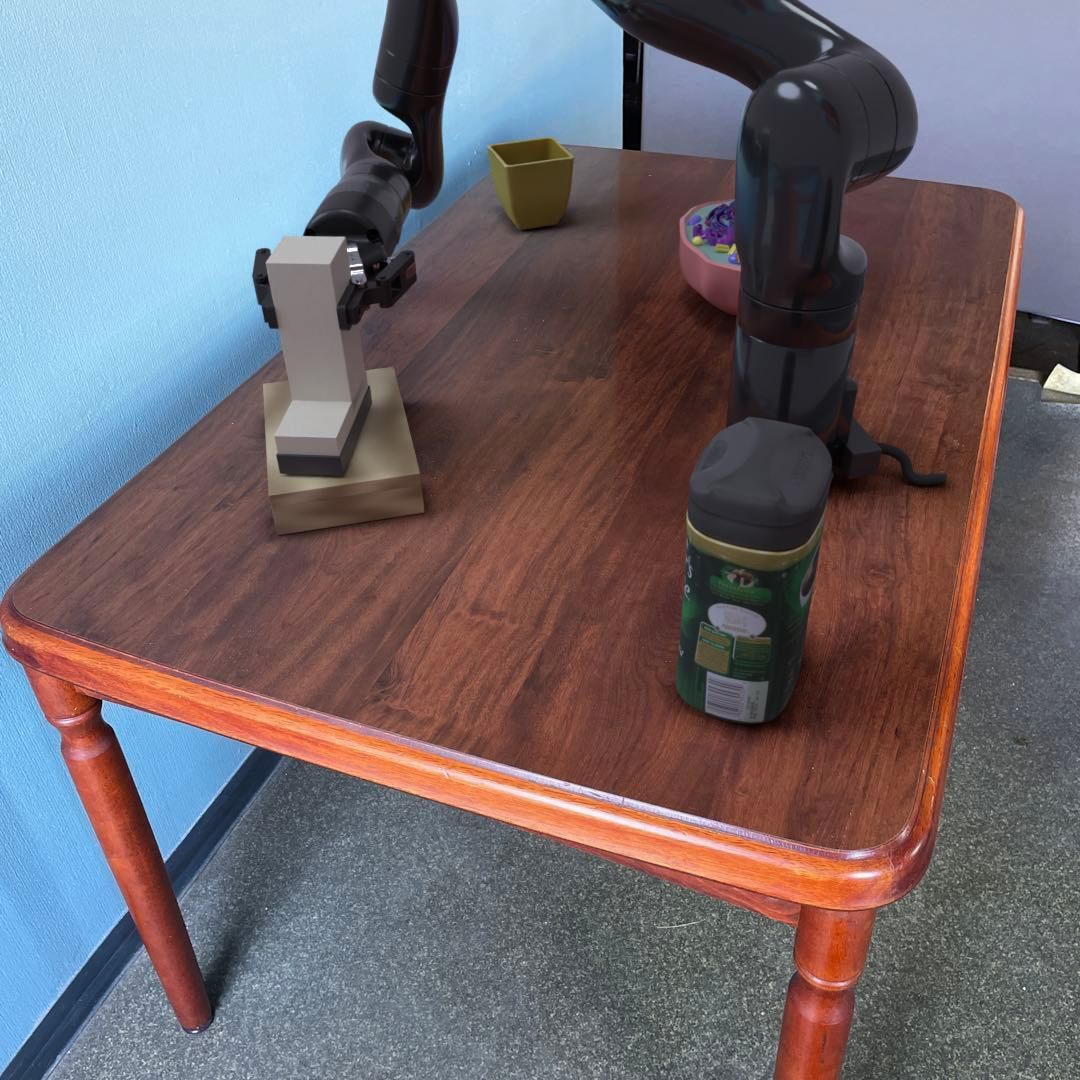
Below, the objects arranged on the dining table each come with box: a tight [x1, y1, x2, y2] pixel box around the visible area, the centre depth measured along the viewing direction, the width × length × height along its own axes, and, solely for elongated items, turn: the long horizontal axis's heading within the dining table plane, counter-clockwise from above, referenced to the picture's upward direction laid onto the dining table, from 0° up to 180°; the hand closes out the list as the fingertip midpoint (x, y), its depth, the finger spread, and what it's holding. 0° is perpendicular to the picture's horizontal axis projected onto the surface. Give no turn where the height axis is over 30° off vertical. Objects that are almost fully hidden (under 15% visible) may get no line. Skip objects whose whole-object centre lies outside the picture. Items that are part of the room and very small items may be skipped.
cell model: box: [678, 197, 741, 317], centre depth 114 cm, size 17×20×11 cm
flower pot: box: [487, 136, 575, 231], centre depth 134 cm, size 9×9×9 cm
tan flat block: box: [262, 366, 425, 536], centre depth 93 cm, size 12×18×4 cm, turn 13°
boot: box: [266, 235, 372, 476], centre depth 85 cm, size 11×5×16 cm, turn 175°
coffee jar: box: [675, 417, 833, 725], centre depth 67 cm, size 10×8×19 cm
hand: (307, 318), depth 83 cm, fingers closed on boot, 5 cm apart
